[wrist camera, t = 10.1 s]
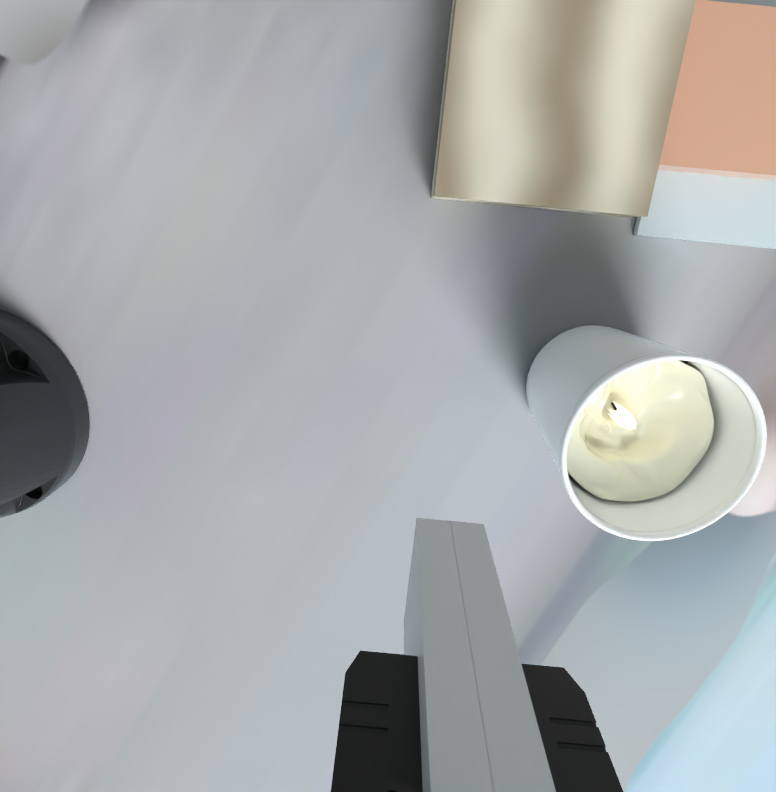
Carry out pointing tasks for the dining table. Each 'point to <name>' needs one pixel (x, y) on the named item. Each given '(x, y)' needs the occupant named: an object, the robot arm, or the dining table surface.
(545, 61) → the birch board
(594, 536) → the dining table surface
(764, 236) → the rubber mat
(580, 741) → the robot arm
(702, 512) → the candle holder
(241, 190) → the dining table surface
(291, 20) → the dining table surface
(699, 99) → the terracotta tile
